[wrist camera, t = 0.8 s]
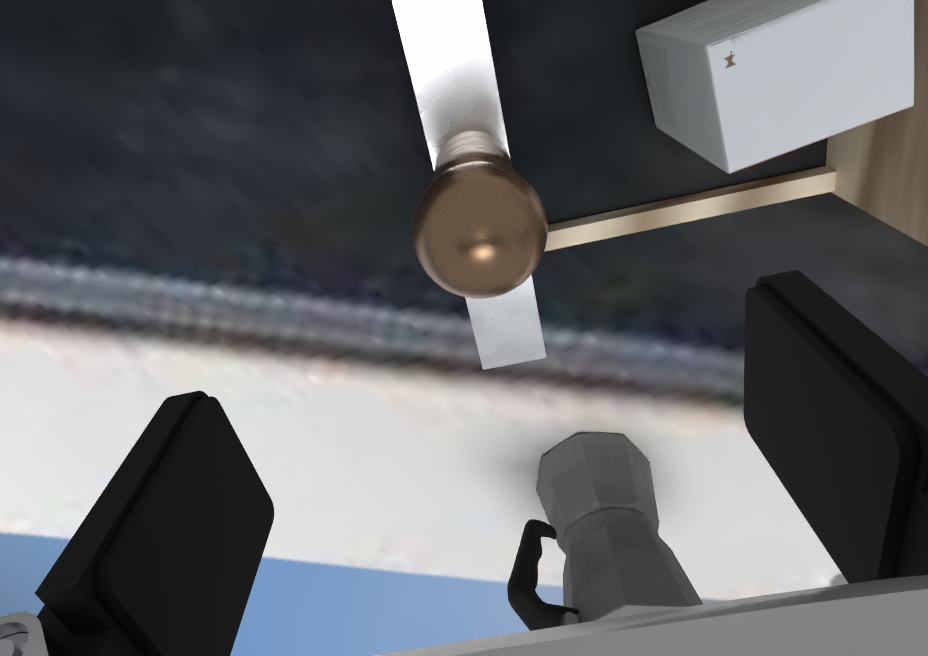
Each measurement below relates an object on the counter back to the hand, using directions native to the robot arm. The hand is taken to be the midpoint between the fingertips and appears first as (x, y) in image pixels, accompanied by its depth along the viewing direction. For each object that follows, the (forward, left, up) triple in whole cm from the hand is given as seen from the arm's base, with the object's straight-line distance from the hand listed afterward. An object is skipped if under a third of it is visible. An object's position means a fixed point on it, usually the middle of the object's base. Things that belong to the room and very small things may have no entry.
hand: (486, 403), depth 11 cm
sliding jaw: (0, 0, -26) cm, 26 cm away
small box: (-14, 0, -28) cm, 31 cm away
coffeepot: (-3, +29, -28) cm, 40 cm away
